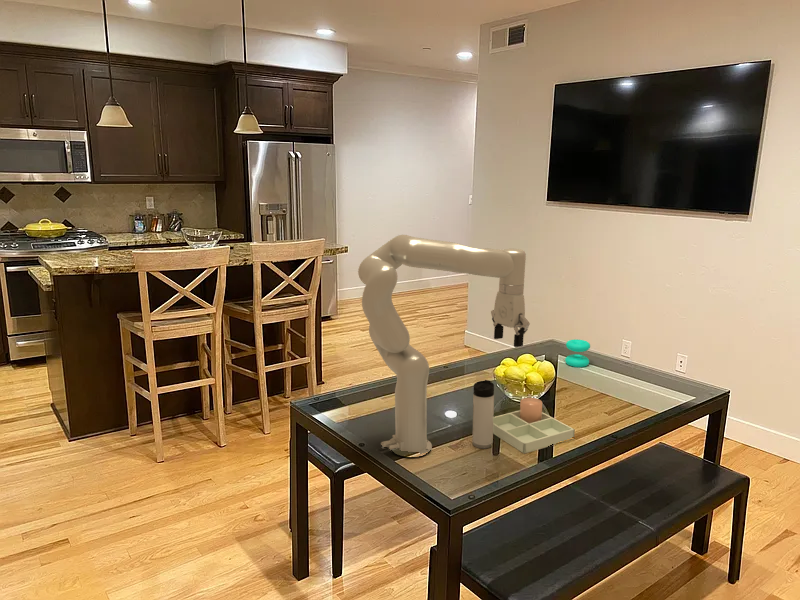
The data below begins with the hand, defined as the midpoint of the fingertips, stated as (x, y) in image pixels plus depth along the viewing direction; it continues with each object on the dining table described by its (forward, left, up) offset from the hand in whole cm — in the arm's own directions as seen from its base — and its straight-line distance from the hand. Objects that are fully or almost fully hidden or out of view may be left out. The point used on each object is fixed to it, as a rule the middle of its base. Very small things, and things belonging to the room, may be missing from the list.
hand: (508, 342), depth 186 cm
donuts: (+67, +37, -30) cm, 82 cm away
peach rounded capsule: (+9, -2, -29) cm, 31 cm away
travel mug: (-12, -4, -30) cm, 33 cm away
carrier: (+4, -7, -30) cm, 31 cm away
